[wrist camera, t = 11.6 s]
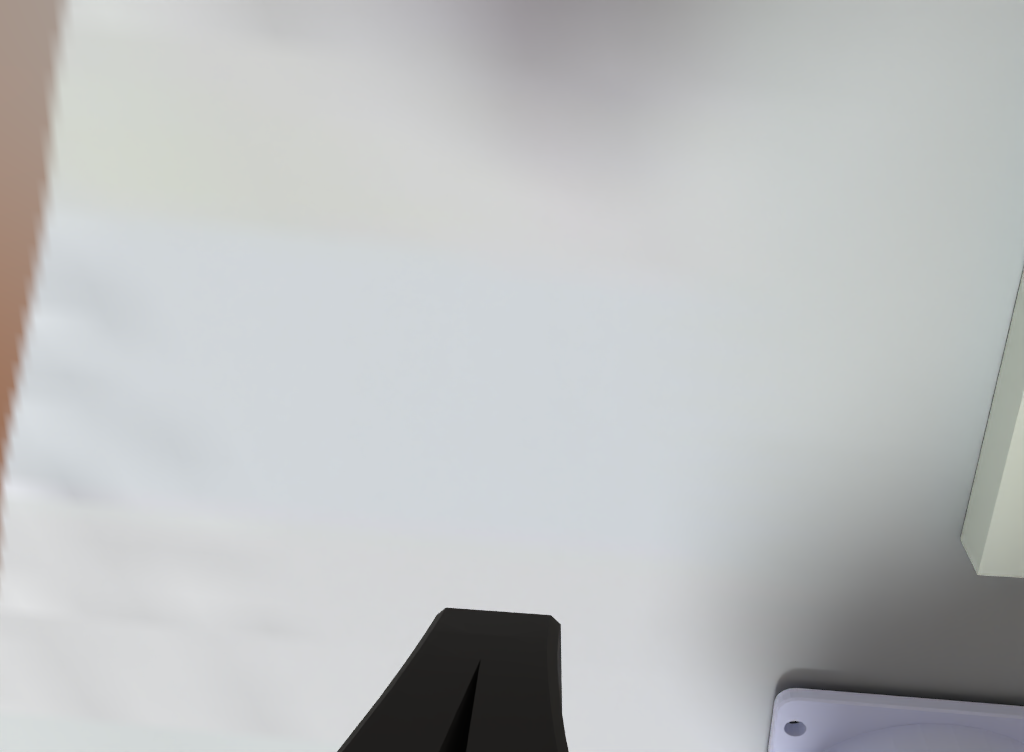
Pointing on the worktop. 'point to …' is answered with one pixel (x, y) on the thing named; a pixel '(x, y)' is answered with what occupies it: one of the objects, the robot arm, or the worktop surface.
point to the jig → (1001, 469)
